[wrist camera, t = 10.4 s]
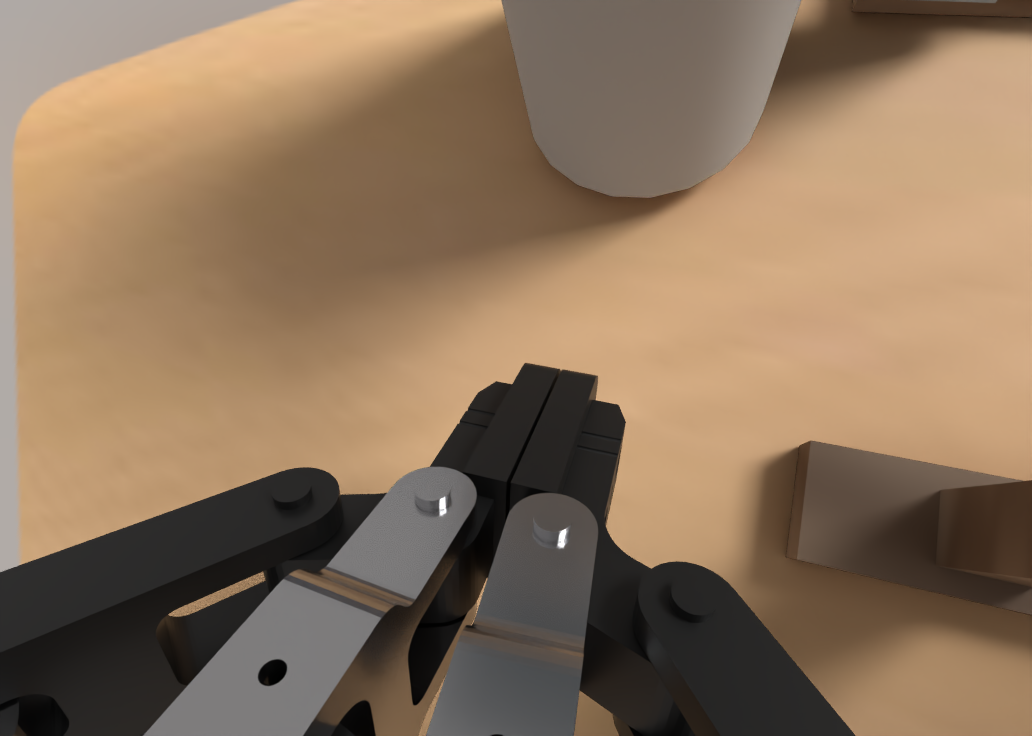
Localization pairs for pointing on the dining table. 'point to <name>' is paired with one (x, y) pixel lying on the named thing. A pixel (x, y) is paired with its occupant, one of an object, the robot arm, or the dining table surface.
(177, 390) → the dining table surface
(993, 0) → the door
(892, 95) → the dining table surface
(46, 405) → the dining table surface
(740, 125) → the can
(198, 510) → the robot arm
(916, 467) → the door frame
